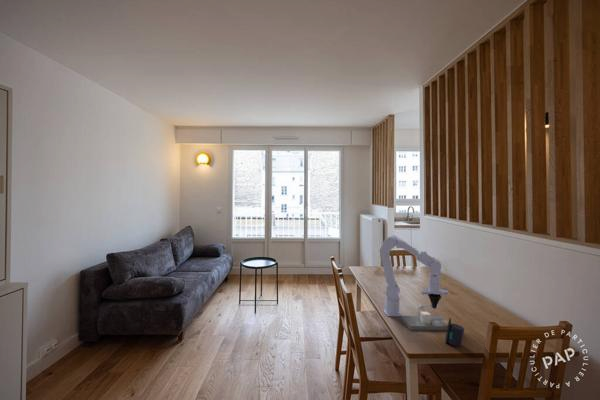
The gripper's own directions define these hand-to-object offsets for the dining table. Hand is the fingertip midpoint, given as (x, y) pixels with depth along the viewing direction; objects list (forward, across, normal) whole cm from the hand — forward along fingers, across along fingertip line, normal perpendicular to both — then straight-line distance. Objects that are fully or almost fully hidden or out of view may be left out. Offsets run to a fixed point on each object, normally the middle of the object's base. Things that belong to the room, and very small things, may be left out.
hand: (434, 307), depth 161 cm
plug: (+7, -7, -5) cm, 11 cm away
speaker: (+8, -2, -24) cm, 25 cm away
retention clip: (+5, -2, +2) cm, 6 cm away
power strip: (+7, -6, -4) cm, 10 cm away
